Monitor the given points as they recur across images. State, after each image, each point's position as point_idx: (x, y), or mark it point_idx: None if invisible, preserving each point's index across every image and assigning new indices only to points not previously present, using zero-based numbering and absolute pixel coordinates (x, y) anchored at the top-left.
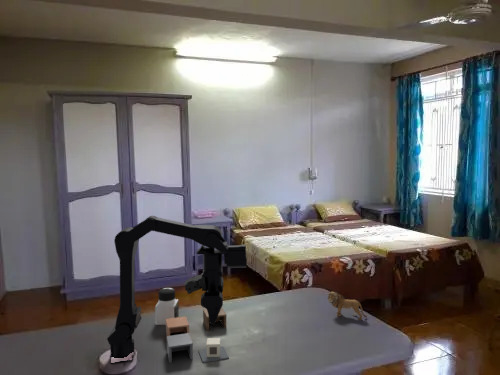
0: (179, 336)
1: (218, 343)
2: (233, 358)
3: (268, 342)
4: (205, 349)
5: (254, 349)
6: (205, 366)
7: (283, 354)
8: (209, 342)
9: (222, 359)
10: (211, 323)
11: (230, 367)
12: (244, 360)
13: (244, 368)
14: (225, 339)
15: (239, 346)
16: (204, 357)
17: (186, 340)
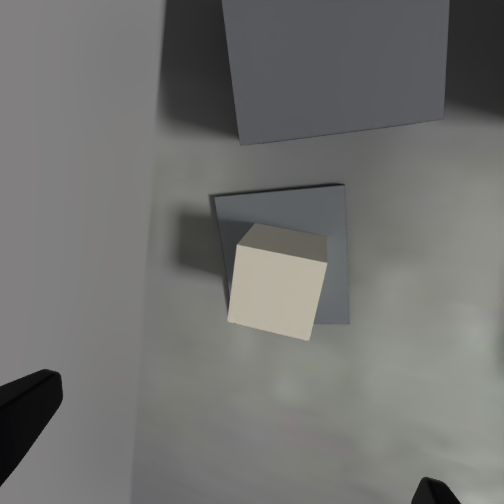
0: (399, 16)
1: (238, 316)
2: (234, 338)
3: (339, 499)
4: (342, 227)
5: (292, 434)
6: (183, 205)
7: (231, 500)
8: (261, 266)
9: (230, 292)
10: (34, 379)
11: (164, 309)
12: (210, 373)
13: (153, 356)
14: (443, 351)
15: (338, 390)
16: (253, 210)
17: (298, 93)
